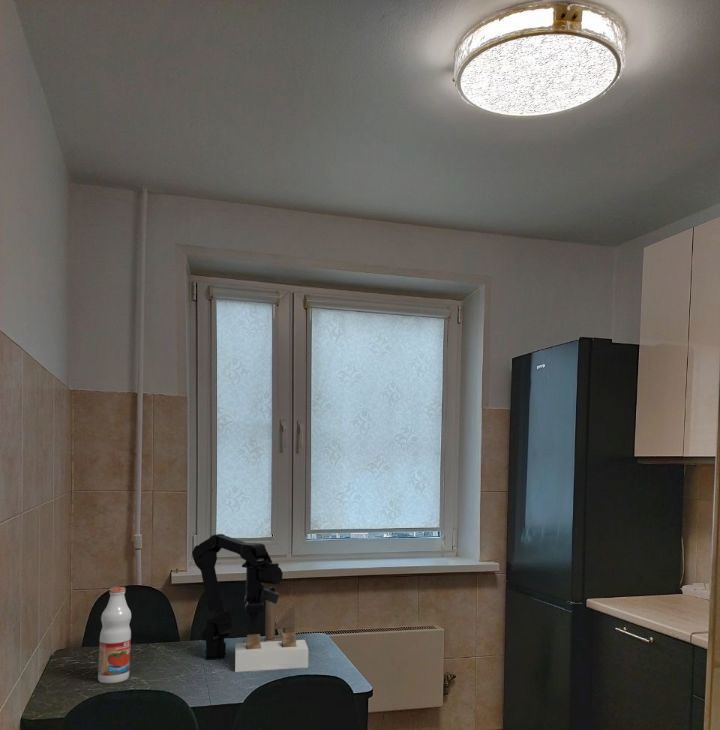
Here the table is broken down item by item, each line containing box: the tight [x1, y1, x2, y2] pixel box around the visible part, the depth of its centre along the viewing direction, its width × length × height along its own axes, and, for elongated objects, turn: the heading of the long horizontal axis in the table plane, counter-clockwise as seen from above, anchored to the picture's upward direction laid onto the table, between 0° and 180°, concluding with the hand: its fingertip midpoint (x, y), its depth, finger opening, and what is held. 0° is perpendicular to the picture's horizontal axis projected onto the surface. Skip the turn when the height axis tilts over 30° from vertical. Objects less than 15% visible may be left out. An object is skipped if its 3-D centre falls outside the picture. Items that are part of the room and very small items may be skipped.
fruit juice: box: [97, 586, 132, 684], centre depth 216 cm, size 9×9×28 cm
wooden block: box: [263, 600, 295, 642], centre depth 251 cm, size 4×11×18 cm, turn 111°
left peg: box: [246, 633, 261, 649], centre depth 229 cm, size 4×4×5 cm
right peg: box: [281, 631, 297, 647], centre depth 231 cm, size 4×4×5 cm
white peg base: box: [234, 639, 309, 673], centre depth 230 cm, size 24×12×6 cm, turn 101°
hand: (253, 628), depth 230 cm, fingers closed
